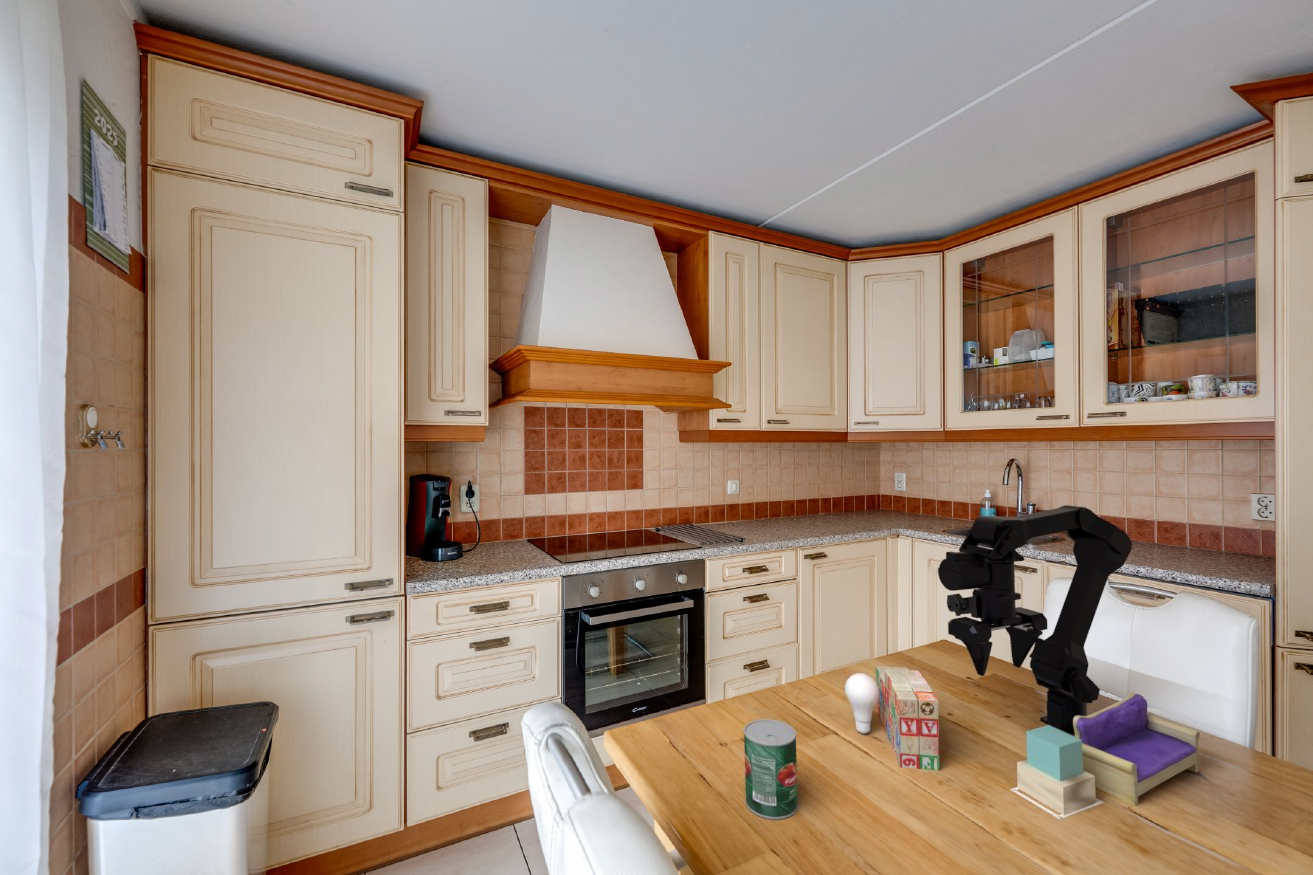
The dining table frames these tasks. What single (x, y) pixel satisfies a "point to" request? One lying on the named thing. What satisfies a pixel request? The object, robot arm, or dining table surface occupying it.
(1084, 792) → the block
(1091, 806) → the building mat
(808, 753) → the dining table surface
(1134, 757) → the toy sofa
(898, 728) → the stack of blocks
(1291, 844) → the dining table surface
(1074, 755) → the teal block
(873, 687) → the lightbulb
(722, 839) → the dining table surface
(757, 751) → the canned tomato
